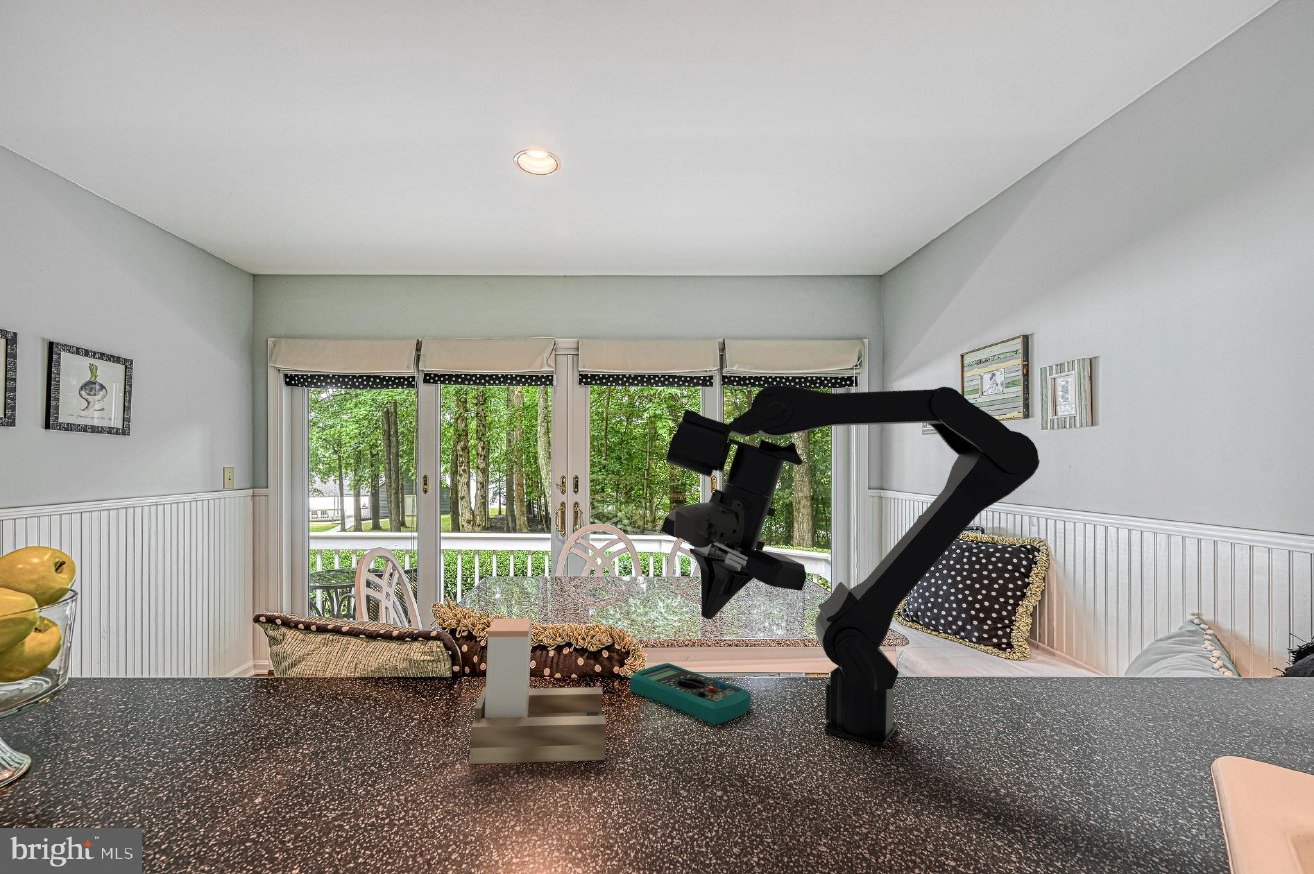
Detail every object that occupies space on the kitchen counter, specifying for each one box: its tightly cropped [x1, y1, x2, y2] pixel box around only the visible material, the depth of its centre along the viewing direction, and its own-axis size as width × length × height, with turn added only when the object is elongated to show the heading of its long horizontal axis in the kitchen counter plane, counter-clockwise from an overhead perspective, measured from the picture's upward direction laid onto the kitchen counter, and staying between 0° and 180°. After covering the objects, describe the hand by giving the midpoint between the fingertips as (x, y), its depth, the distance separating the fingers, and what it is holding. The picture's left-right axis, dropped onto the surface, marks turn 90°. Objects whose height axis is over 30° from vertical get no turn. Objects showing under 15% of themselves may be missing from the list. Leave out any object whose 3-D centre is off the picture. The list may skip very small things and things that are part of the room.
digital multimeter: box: [629, 662, 752, 725], centre depth 79 cm, size 7×15×3 cm, turn 46°
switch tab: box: [485, 617, 533, 718], centre depth 66 cm, size 4×5×10 cm
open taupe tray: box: [469, 686, 607, 765], centre depth 67 cm, size 13×10×4 cm
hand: (706, 617), depth 73 cm, fingers closed
